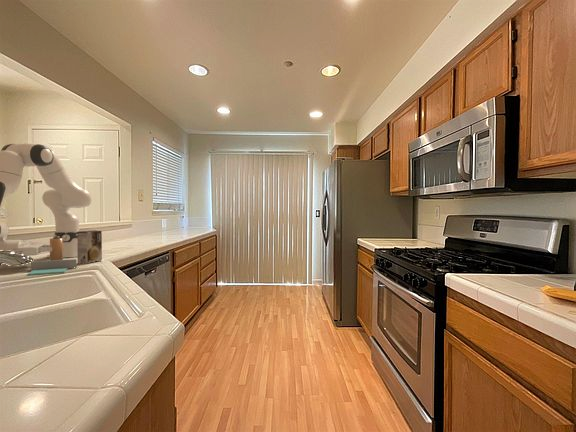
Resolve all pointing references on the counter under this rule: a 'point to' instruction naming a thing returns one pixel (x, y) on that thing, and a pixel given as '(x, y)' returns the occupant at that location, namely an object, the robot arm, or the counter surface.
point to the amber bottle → (56, 248)
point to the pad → (48, 271)
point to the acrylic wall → (53, 264)
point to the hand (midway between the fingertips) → (54, 248)
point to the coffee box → (89, 246)
